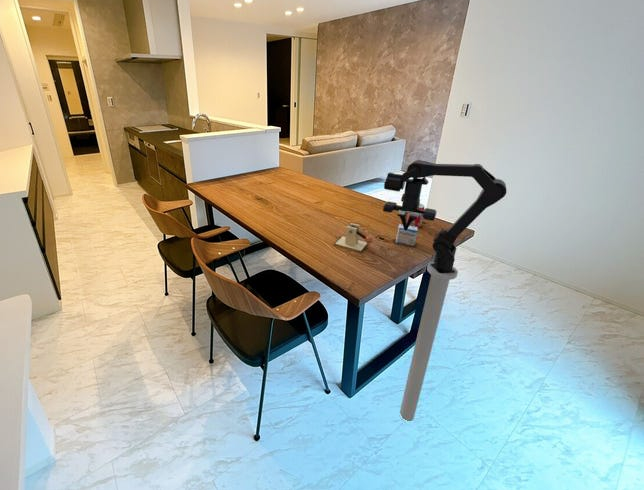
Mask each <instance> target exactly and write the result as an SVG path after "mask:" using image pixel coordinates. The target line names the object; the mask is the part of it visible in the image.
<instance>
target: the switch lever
mask: <svg viewBox="0 0 644 490" xmlns="http://www.w3.org/2000/svg"><path fill="white" fill-rule="evenodd" d="M351 227H354V228H356V227H355V226H353V225H352V226H351ZM357 229H358V228H357ZM356 234H358V235H359V237H361V238H362V239H363V240H364V242H366V243H367V244H371V243H372V242H373V237H372V236H370V235H367V236H366V235H365V234H363V233H362V232H360V230H359V231H357V233H356Z"/></svg>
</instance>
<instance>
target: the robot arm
mask: <svg viewBox="0 0 644 490" xmlns="http://www.w3.org/2000/svg"><path fill="white" fill-rule="evenodd" d="M433 176H439V177H440V176H441V177H463V178H464V177H466V178H472V179H474V181H475V182H476V183H477V184H478V185H479V186H480V188H481V191H480V192H479V194H478V196H477V198H476V200H474V202H472V203H471V205H470V206H468V207H467V209H466V210H465V211H464V212H463V213H462V214H461V215H460V216H459V217H458V218H457V219H456V220H455V221H454V222H453V223H452V225H450V226H449V227H448V228H446V229H445V228H444V227H441V229H440V231H438V233H436V234H435V235H434V237H433V239H432V242H433V243H432V249H433V250H434V251H435V253H436V254H435V257H434V261H433V262H434V263H431V264H430V265H431V266H432V267H433V268H434V269H435V270H436V271H437V272H439V273H455V270H453V269H452V268H453V267H454V263H455V260H456V258H455V256H456V253H457V246H456V245H455V242H456V240H457V239H458V237H459V236H460V235H461V234H462V233H463V232H464V231H465V230H466V229H467V228H468V227H469V226H470V225H471V224H472V223H473V222H474V221H475V220H476V219H477V218H478V217H479V216H480V215H481V214H482V213H483V212H484V211H485V210H486V209H488V208H489V207H491V206H493V205H494V204H496V203H497V202H499V201H500V200H502V199H503V198H504V197H506V195H507V185H506V184H507V183H506V182H505V181H503V180H502V179H500V178H496V177H495V176H494V175H493V174H492V173H491V172H489V171H488V170H487V169H485V168H484V166H483V165H482V164H480V163H474V164H473V163H472V164H467V163H465V164H464V163H463V164H462V163H461V164H460V163H454V164H453V163H435V162H431V161H426V160H421V159H415V160H414V161H413V162H411V163H410V164H409V165H408V166H407V168H406V171H404V172H403V173H402V174H401V173H393V172H391V171H390V172H388V173H387V175H386V178H385V181H384V183H383V189H384V190H386V191H392V192H401V190H404V192H403V193H402V195H401V198H400V201H401V202H402V203H401V206H400V205H397V204H398V203H397V202H395V201H389V200H388V201H387V202H385V203H384V204H383V207H382V212H384V213H389V214H390V213H393V212H394V211H397V214H396V216H397V217H399V218H400V220H401V223H402V225H403V227H404V230H405V231H407V229H408V227H409V226H410V224H411V223H412V221H413V220H414V219H415V220H417V219H418V217H419V215H423V220H426V221H431V222H432V221H433V222H434V221H435V219H436V216H437V210H436V209H434V208H429V207H428V208H427V207H425V211H424V210H418V208H419V204H421V193H422V187H423V186H427V185H428V184H429V183H430V182H429V180H428V179H427V177H433ZM409 213H411V215H410V216H409V219H408V214H409ZM407 219H408V222H407Z"/></svg>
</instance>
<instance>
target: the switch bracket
mask: <svg viewBox="0 0 644 490" xmlns="http://www.w3.org/2000/svg"><path fill="white" fill-rule="evenodd" d="M352 225H353V226H355V227H356V228H354V227H351V226H352ZM357 228H358V229H357ZM360 229H361V224H357V223H353V222H350V223H349V225H347V226H346V229H345V236H343V235H342V236H341V238H340V239H338V240H337V241H336V242H335V245H337V246H341V247H344V248H347V249H352V250H355V251H359V252H362V251H363V250H364V249H365V247H366V246H367V245H368V243H366V242H365V241H363V240H360V239H359V237H360V236H359V235H358V234H356V233H357V231H359V232H360Z"/></svg>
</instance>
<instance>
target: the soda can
mask: <svg viewBox="0 0 644 490" xmlns="http://www.w3.org/2000/svg"><path fill="white" fill-rule="evenodd" d="M425 209H426V207H425V205H424V204H423V203H420V204H419V208H418V210H424V211H425ZM410 215H411V213H408V214H407V222H408V219H409V216H410ZM423 221H424V218H423V215H419V217H418V219H417V220H415V219H414V220H413V221H412V223H411V224H410V225H409V226H414V227H418V228H420V227H422V224H423Z"/></svg>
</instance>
